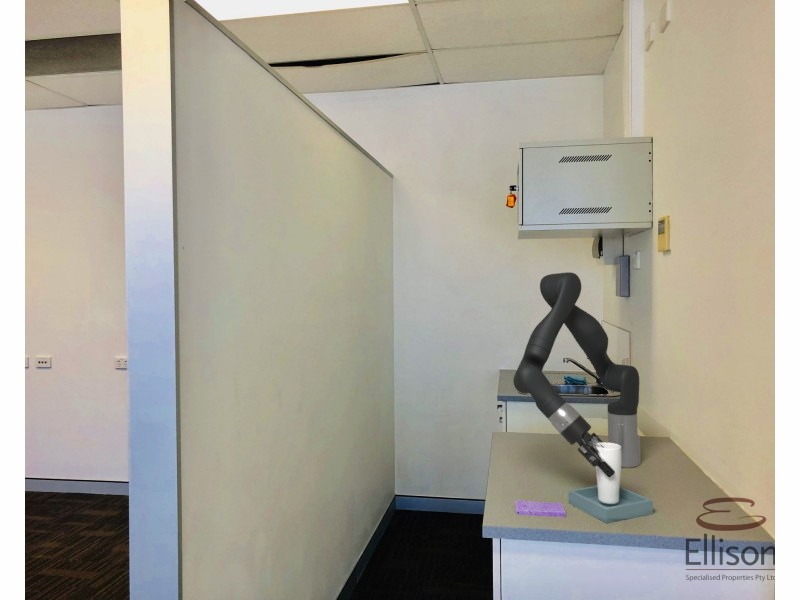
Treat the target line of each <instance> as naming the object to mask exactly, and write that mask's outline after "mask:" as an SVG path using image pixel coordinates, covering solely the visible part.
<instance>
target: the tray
mask: <svg viewBox="0 0 800 600" xmlns="http://www.w3.org/2000/svg"><path fill="white" fill-rule="evenodd" d="M567 495H568V496H567V497H568V504H570V505H571V506H572V507H575V508H577V509H578V510H581V511H583V512H584V513H586V514H588V515H590V516H591V517H593V518H596V519H597V520H599V521H601V522H603V523H605V524H612V523H616V522H620V521H625V520H629V519H630V520H631V519H634V518H640V517H645V516H648V515H649V516H651V515H653V514H654V504H653V503H654V500H652V499H650V498H648V497H645V496H643V495H641V494H638V493H636V492H634V491H632V490H629V489H627V488H625V487H623V486H620V489H619V502H618V503H616V504H605V503H602V502H600V501H599V499H598V488H597V485H593V486H592V485H591V486H587V487H586V486H585V487H581V488H575V489H570V490H568V493H567Z"/></svg>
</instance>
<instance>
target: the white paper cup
mask: <svg viewBox="0 0 800 600" xmlns="http://www.w3.org/2000/svg"><path fill="white" fill-rule="evenodd" d="M600 444H601V445H602V446H604V448H603V447H602V446H601V445H600ZM597 446H599V447H597ZM596 447H597V448H598V450H599V451H600V455H601V456H602V458H603V459H604V461H606V463H607V464H608V465H609V466H610V467H611V468H612V469H613V470H614V471H615V473H614V475H612V476H611V477H608V476H607V475H606V474H605V473H604V472H603V471H602V470H601V469H600V468H599V466H598V467H597V466H595V474H596V486H597V488H598V499H599V501H600V502H602V503H605V504H616V503H618V502H619V489H620V487H621V474H622V467H621V462H622V455H621V446H620V445H618V444H615V443H608V441H607V442H605V441H604V442H602V443H597V444H596ZM595 460H596V458H595Z"/></svg>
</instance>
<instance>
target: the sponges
mask: <svg viewBox="0 0 800 600" xmlns="http://www.w3.org/2000/svg"><path fill="white" fill-rule="evenodd" d="M515 512H517V513H516V515H517V514H521V515H520V516H532V515H535V516H534V517H536V516H539V517H557V518H564V517H566V511H565V509H564V506H563V503H562V502H551V501H550V502H549V501H548V502H545V501H544V502H543V501H531V500H529V501H528V500H515Z"/></svg>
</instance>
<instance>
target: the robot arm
mask: <svg viewBox="0 0 800 600" xmlns="http://www.w3.org/2000/svg"><path fill="white" fill-rule="evenodd" d="M539 290H540V294H541V296H542V298H543V299H544V301H545V302H546V304H547V305H548V306H549V307H550V308H551V309H550V311H549V312H548V313H547V314H546V315H545V316H544V317H543V319H542V320H540V321H539V322H538V324H536V326H535V328H534V329H533V330H532V332H531V334H530V336H529V339H528V342H527V344H526V347H525V349H524V354H523V357H522V359H521V361H520V362H519V365H518V367H517V369H516V372H515V374H514V376H513V381H512V382H513V386H514V388H515V390H516V391H518V392H519V393H521V394H527V395H528V394H529V395H530V396H531V397H532V399H534V401H535V406H536V407H537V408H538V410H539V411H540V412H541V413H542V414H543V415H544V417H545V418H546V419H547V420H548V421H549V422H550V423H551V425H552V426H553V427H554V429H555V430H556V431H557V432H558V433H559V434H560V435H561V436H562V437H563V438H564V439H565V440H566V441H567V442H568V443H569V444H570V445H571V446H572V445H575V443H577V444H578V446H579V447H578V448H577V451H578V452H579V453H580V454H581V455H582V456H583V457H584V458H585V459H586V460H587V462H589V464H590V465H591V466H592V467H595V466H597V467H598V466H599V468H600V469H601V470H602V471H603V472H604V473H605V474H606V475H607V476H608V477H611V476H612V475H614V473H615V471H614V470H613V469H612V468H611V467H610V466H609V465H608V464H607V463H606V461H604V459H603V458H602V456H601V455H600V451H599V450H598V448H597V447H599V446H597V447H596V444H597V443H602V442H603V440H602V439H601V438H600V437H599V436H598V435H597V434H596V432H592V433H590V432H589V431H590V430H591V428H592V426H591V425H590V423H589V422H588V421H587V420H586V419H585V418H584V417H583V416H582V415H581V414H580V413H579V412H578V411H577V410H576V409H575V408H574V407H573V406H572V405H571V404H570V403H568V402H567V401H566V399H564V398H563V396H561V395H560V394H559V392H557V391H556V390H555V388H554V387H553V385H552V383H550V381H549V379H548V378H547V377H546V375H545V374H544V373H543V369H544V366H545V364H547V361H548V359H549V357H550V355H551V352H552V349H553V346H554V345H555V342H556V339H557V336H558V335H559V332H560V331H561V329H562V327H563V326H564V325H565V327H566V328H567V330H568V331H569V332H570V333H571V335H572V337H573V339H574V340H575V342H576V343H577V344H578V346H579V347H580V348H581V350H582V351H583V353H584V354H585V356H586V357H587V359H588V360H589V362H590V364H591V365H592V367H593V368H594V370H595V372H596V374H597V376H598V378H599V380H600V382H601V384H602V386H603V387H604V388H605V389H606V390H607V391H611V392H614V393H615V392H617V393H619V399H618V400H615V401H610V402H608V404H607V443H615V444H618V445H620V446H621V455H622V462H621V468H629V469H630V468H636V467H637V466H639V465H641V436H640V435H639V434H638V432H639V431H638V406H639V401H640V375H639V371H638V369H637V368H636V367H635V366H632V365H627V364H618V363H617V364H616V363H615V362H613V361H612V360H611V358H610V357H609V355H608V352H607V351H608V346H609V336H608V334H607V332H606V331H605V329H604V327H603V326H602V324H601V323H600V322H599V320H597V318H595V317H594V316H593V315H591V314H590V313H588V312H587V311H585V310H583V309H582V308H581V307H579V306H577V305H576V303H577V301H578V300H579V298H580V296H581V294H582V293H581V292H582V282H581V279H580V277H579V276H578V274H577V273H574V272H567V271H566V272H560V273H559V272H558V273H557V272H556V273H550V274H547V275H545V276H543V277H542V278H541V279H540V282H539ZM600 445H601V444H600ZM601 446H602V445H601ZM602 447H603V448H604V446H602ZM595 458H596V460H595Z"/></svg>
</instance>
